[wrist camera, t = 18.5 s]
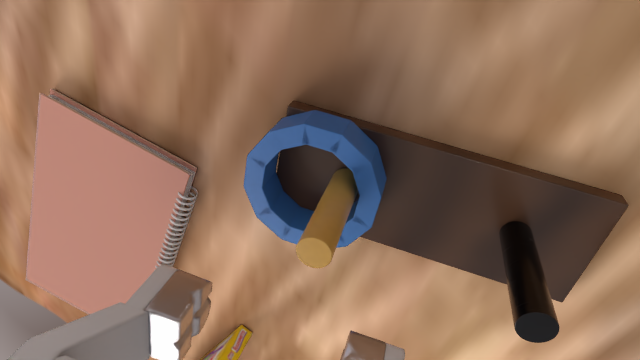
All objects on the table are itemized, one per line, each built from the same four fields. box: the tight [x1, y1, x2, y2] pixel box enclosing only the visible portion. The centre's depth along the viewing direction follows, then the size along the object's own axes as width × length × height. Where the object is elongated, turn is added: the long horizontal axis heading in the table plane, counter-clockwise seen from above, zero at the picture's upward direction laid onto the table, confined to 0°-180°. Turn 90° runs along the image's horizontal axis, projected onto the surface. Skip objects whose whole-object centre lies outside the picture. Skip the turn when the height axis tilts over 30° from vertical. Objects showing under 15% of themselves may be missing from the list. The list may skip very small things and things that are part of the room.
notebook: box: [26, 89, 198, 315], centre depth 48 cm, size 27×17×2 cm, turn 156°
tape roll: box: [244, 110, 387, 248], centre depth 35 cm, size 11×11×3 cm
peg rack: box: [277, 101, 628, 343], centre depth 32 cm, size 26×10×12 cm, turn 79°
